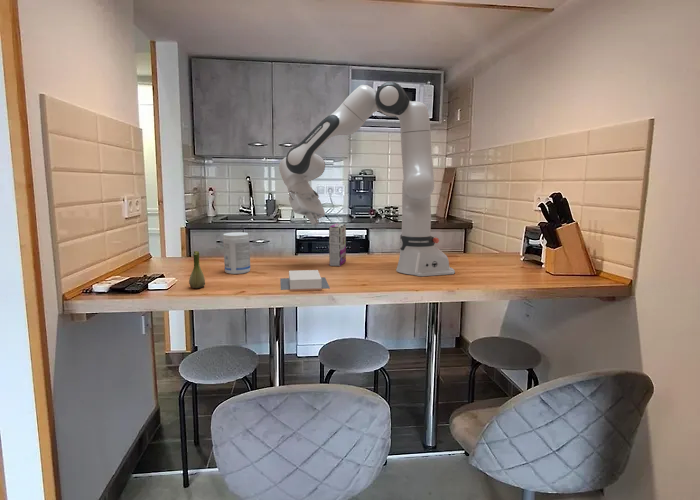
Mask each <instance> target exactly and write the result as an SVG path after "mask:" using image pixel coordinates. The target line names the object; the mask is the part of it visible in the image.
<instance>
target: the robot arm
mask: <svg viewBox="0 0 700 500" xmlns="http://www.w3.org/2000/svg"><path fill="white" fill-rule="evenodd" d="M376 112H377V113H379V114H381V115H384V116H385V117H388V118H398V121H399V124H400V125H399V126H400V144H401V145H400V148H401V150H400V151H401V162H402V164H401V165H402V174H403V175H402V176H403V177H402V178H403V179H402V188H401V189H402V190H401V191H402V192H401V193H402V194H401V196H402V198H401V201H402V202H401V234H400V236H399V237H400V238H399V249H400V251H399V252H400V253H399V257H398V258H399V259H398V263H397V267H396V269H395V271H396V272H398V273H400V274H405V275H412V276H416V277H431V276H445V275H454V274H455V273H456V270H455V269H454V268H453V267H452V266H451V267H450V262H449V258H448V255H447V254H446V253H444V252H443V251H442V250H441V249H439V248H438V247H437V246H436V245H435V244H439V243H440V239H439V238H438V237H434V236H432V235H431V231H432V230H431V225H432V209H431V207H432V205H431V195H432V193H433V192H434V190H435V189H434V188H435V180H434V179H435V177H434V167H433V166H434V165H433V156H432V155H433V154H432V134H431V132H432V130H431V121H430V120H431V119H430V115H429V110H428V107H427V105H426V104H425V103H424V102H422V101H419V100H418V101H417V100H414V101H412V100H410V98H409V96H408V95H407V92H406V91H405V89H404V88H403V87H402V86H401V85H400V84H399V83H397V82H395V81H387V82H384V83H382V84H381V85H380V86H379V87H378V88H377V89H376V90H375V89H374V88H373V87H371V86H370V85H367V84H360V85H359V86H357V88H355V89H354V90H352V92H351V93H350V94H349V95H348V96H347V97H346V98H345V99H344V101H343V102H342V103H341V104H340V105H339V106H338V107H337V109H335V111H333V112H332V113H331V114H330V115H327V116H326V117H325V118H323V119H322V120H321V121H320V122H319V123H318V124H317V125H316V126H315V127H314V128H313V129H312V130H311V131H310V132H309V133H308V134H307V136H305V137H304V139H302V140H301V141H300V142H299V143H298V144H296V145H294V146H293V147H291V148H290V149H289V150H288V151H287V153H286V156H285V157H283V158H282V159H281V160H280V162H279V166H278V169H279V173H280V175H281V178H282V179H281V180H282V181H283V184H284V185H285V186H286V187H287V192H288V195H289V197H288V200H289V203H290V206H291V209H292V211H293V212H294V213H295V214H297V215H302V216H305V217H306V219H308V221H309V222H310V224H311V225H312V226H318V225H319V219H321V218H323V217H325V216H326V215H325V214H326V212H325V209H324V207H323V204H322V202H321V200H320V195H319V193H318V192H316V191H315V190H314V189H313V188H312V187H311V185H310V183H309V182H311V181H314V180H316V179H318V178H319V177H321V176H322V175H323V174H324V172H325V169H326V162H325V160H324V158H323V157H322V156H320V155H319V154H317V153H316V152H317V151H318V150H319V149H320V148H321V147H322V146H323V145H324V144H325V143H326V142H327V141H328V140H329V139H331V138H332V137H335V136H350V135H354V134H355V133H356V132H357V131H358V130H360V128H361V127H362V126H363V125H364V124H365V122H366V121H367V120H368V119H369V118H370V117H371V115H372V114H374V113H376Z"/></svg>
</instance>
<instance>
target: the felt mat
mask: <svg viewBox="0 0 700 500" xmlns="http://www.w3.org/2000/svg"><path fill="white" fill-rule="evenodd" d="M320 277H321V276H320ZM321 279H322V290H323V289H326V290H327V289H331V287H330V285H329V283H328V281H327V279H326V276H325V277H321ZM279 280H280V290H281V291H282V290H283V291H285V290H289V291H290V284H289V277H286V278H285V277H284V278H279Z"/></svg>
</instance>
